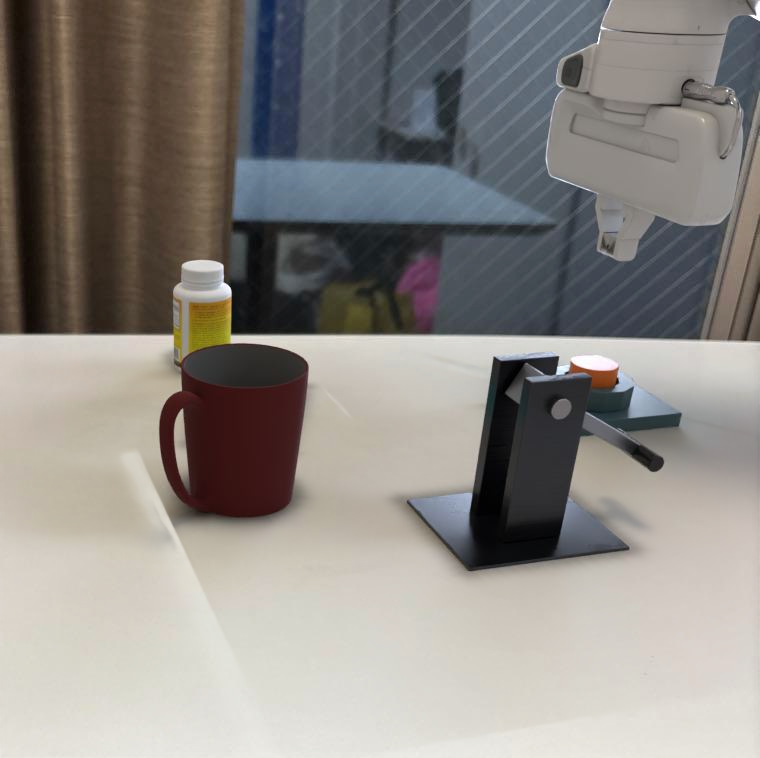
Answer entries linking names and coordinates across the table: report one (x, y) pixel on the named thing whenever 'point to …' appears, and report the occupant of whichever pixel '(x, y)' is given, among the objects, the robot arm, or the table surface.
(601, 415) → the button housing
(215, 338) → the supplement bottle
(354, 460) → the table surface
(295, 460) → the mug
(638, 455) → the switch lever
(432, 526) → the switch bracket
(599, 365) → the button
